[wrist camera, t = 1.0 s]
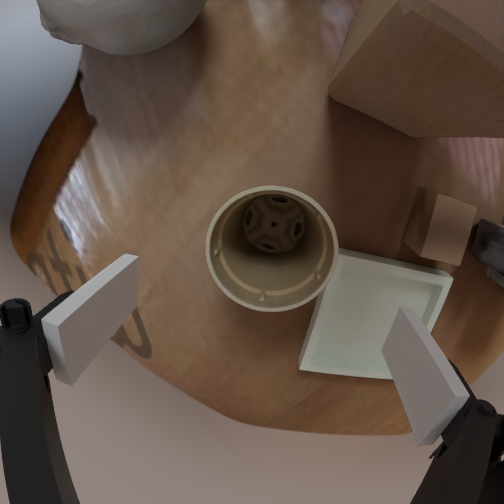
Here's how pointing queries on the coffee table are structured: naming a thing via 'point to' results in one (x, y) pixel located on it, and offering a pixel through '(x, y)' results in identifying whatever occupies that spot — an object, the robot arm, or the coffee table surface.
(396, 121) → the wooden block
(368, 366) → the tray
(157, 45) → the skull
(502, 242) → the caster wheel
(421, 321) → the robot arm
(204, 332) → the coffee table surface
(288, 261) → the flower pot
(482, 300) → the coffee table surface
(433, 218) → the block
